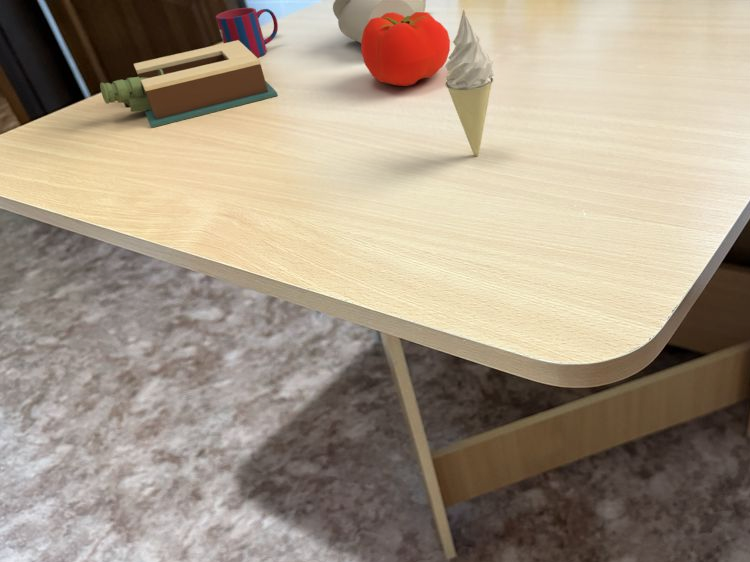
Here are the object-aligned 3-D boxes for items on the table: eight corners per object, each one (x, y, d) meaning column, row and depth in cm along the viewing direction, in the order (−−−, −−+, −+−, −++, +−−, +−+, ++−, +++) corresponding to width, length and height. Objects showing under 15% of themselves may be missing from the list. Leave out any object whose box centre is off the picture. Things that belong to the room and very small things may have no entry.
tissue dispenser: (151, 128, 95) (136, 90, 92) (139, 97, 107) (125, 63, 104) (277, 95, 100) (268, 59, 97) (253, 70, 112) (243, 37, 109)
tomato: (471, 81, 97) (465, 13, 91) (388, 103, 93) (376, 34, 88) (432, 59, 107) (424, -3, 101) (355, 78, 103) (343, 14, 98)
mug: (224, 56, 121) (211, 14, 117) (278, 42, 124) (267, 1, 120) (234, 64, 116) (220, 20, 112) (290, 50, 119) (279, 7, 115)
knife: (102, 77, 93) (110, 115, 96) (233, 65, 103) (238, 99, 106) (94, 71, 96) (103, 108, 99) (223, 60, 106) (228, 94, 108)
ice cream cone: (484, 167, 74) (470, 17, 65) (445, 161, 76) (426, 15, 67) (507, 149, 77) (497, 3, 68) (469, 143, 80) (454, 2, 70)
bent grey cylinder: (315, 33, 121) (359, 56, 107) (314, -36, 116) (360, -20, 101) (406, 34, 129) (458, 56, 115) (409, -30, 124) (464, -15, 110)
